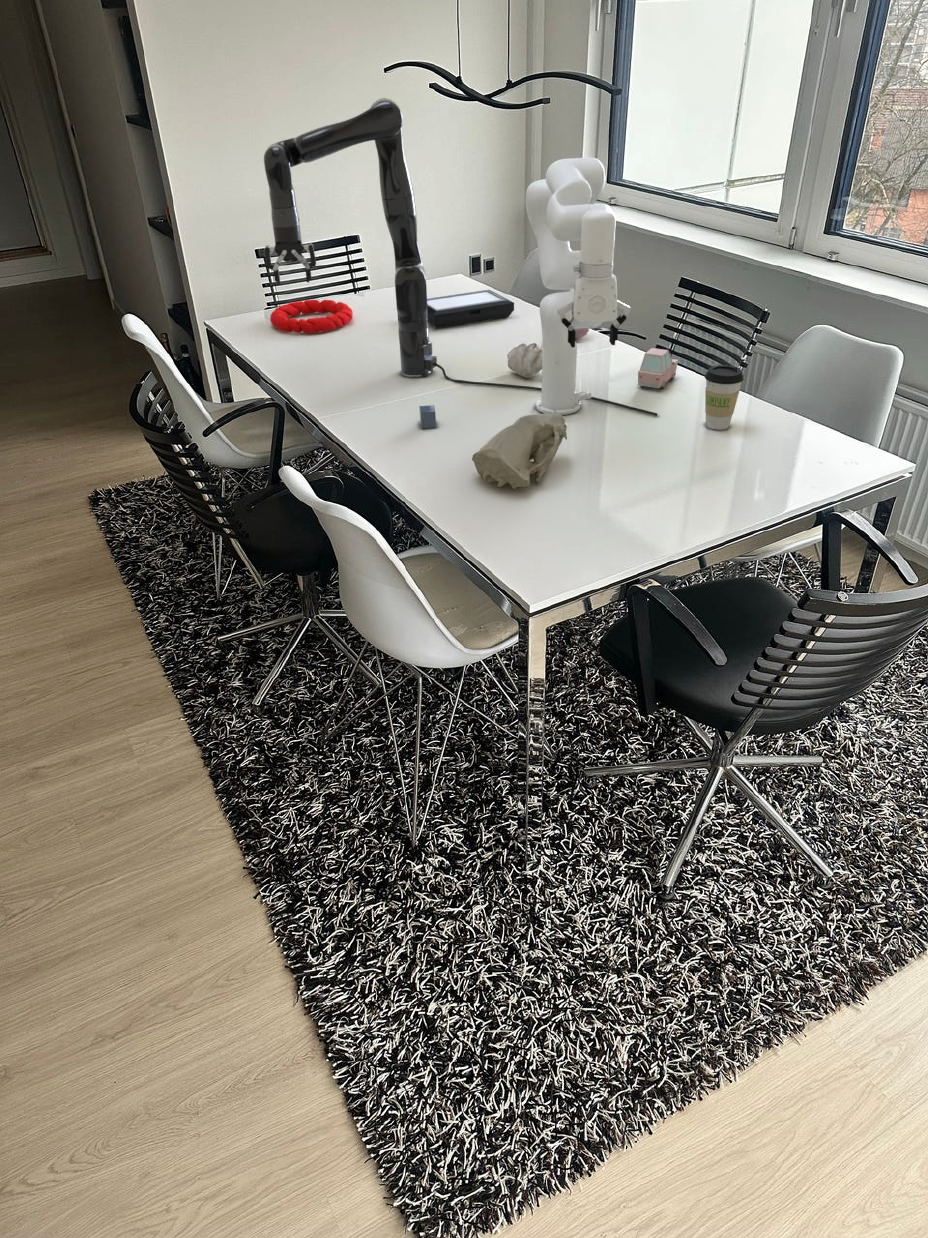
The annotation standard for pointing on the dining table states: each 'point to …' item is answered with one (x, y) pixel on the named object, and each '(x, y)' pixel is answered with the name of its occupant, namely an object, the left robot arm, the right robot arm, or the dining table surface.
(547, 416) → the animal skull
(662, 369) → the toy car
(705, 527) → the dining table surface
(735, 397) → the coffee cup
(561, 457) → the dining table surface
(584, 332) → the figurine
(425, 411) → the block
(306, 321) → the decorative ring
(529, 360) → the seashell
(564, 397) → the right robot arm
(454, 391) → the dining table surface
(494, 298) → the electronic device
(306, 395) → the dining table surface
